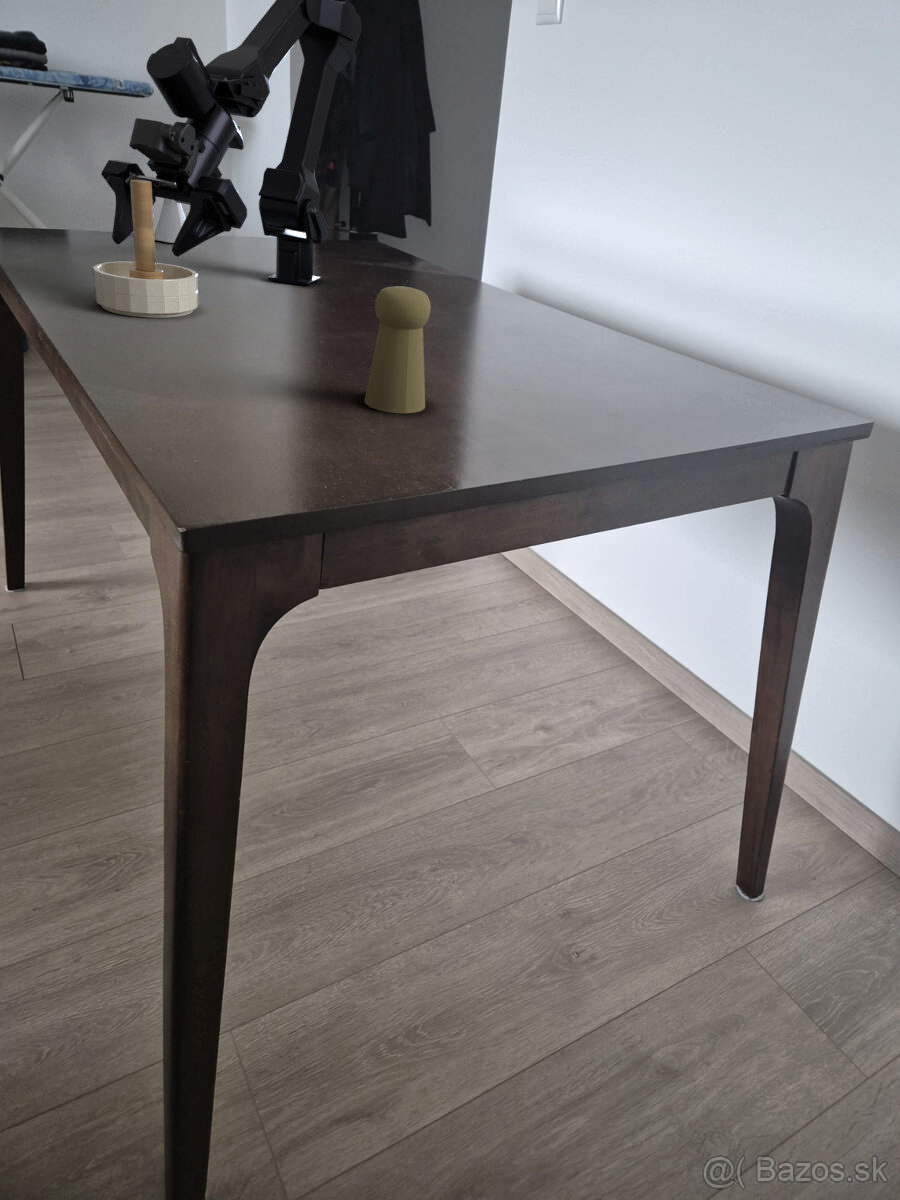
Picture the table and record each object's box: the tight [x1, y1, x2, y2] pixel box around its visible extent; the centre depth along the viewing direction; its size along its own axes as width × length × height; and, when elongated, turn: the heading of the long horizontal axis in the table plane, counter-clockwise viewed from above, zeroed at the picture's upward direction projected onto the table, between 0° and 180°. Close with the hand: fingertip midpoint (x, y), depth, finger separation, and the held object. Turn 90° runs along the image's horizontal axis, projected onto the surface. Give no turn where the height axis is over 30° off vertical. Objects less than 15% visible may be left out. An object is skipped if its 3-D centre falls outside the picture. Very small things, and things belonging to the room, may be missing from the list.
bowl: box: [92, 260, 200, 319], centre depth 109 cm, size 12×12×4 cm
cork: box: [364, 285, 432, 414], centre depth 83 cm, size 6×6×11 cm
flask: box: [154, 198, 187, 244], centre depth 155 cm, size 7×7×10 cm
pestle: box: [129, 180, 163, 280], centre depth 106 cm, size 4×4×14 cm
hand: (144, 247), depth 107 cm, fingers open, 9 cm apart
